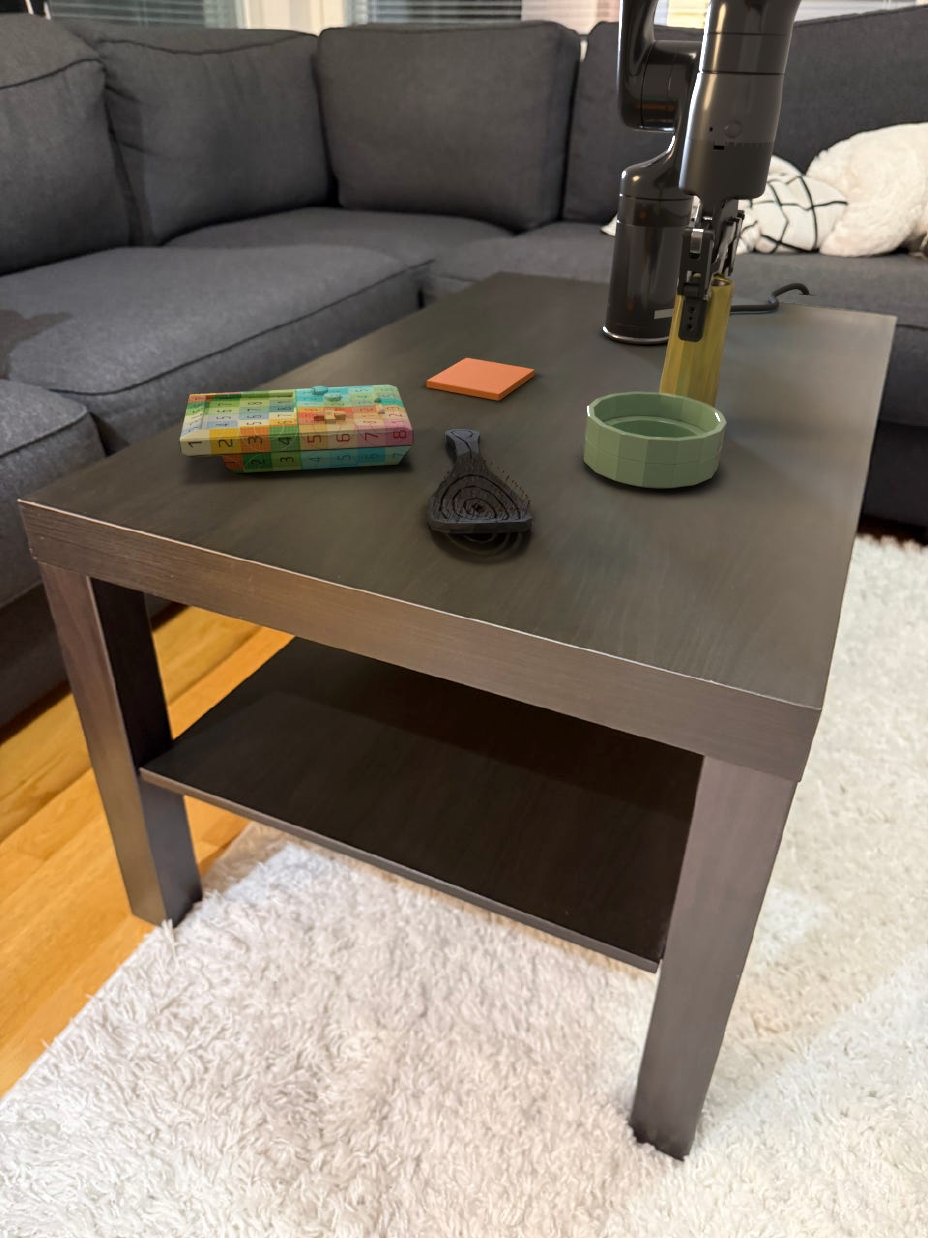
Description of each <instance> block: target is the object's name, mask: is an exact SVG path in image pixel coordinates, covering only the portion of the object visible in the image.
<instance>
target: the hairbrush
mask: <svg viewBox="0 0 928 1238" xmlns="http://www.w3.org/2000/svg"><path fill="white" fill-rule="evenodd" d="M444 438H445V439H444V440H445V443H446V444H448V445H449V447H451V448H452V449H454V451H455V456H456V457H457V458H456V460H455V462H454V465H453V466H452V467H451V468H452V469H451V470H447V471H446V475H444V477H443V480H441V481H440V483H439V485H438V487H437V488H436V490H435V491H434V492H433V494H432V495H431V497H430V500H429V503H428V508H427V511H426V514H427V515H426V519H427V523H428V525H429V527H430V529H431V530H432V531H435V532H440V533H445V534H505V533H506V534H507V533H520V532H521V533H522V532H526V531H527V530H529V529H531V528H532V527H533V524H532V521H533V516H532V514H531V512H530V511H529V509H530V507H531V500H530V499H529V496H528V493H525V490H523V489H522V486H520V487H519V491H520V492H521V495H520V496H519V493H520V492H518V493H516V492H515V490H516V489H517V488H518V486H519V485H518V484H517V482H515V481H514V479H512V481H511V484H510V486H509V485H508V484H507V482H508V479H509V478H510V474H507V476H506V478H505V480H504V481H503V479H502V476H503V475H501V476H499V475H496V473H493V472H492V471H491V470H490V469H491V466H493V462H490V466H489V467H488V465H487V463H486V461H487V460H486V459H483V457H482V456H481V454H480V451H479V450H480V449H479V446H480V444H481V432H479V431H477V430H475V429H468V428H453V429H448V430H446V431H445V436H444ZM499 468H500V467H499V466H497V467H496V469H497V471H498V470H499ZM504 473H505V470H502V474H504ZM514 482H515V483H514ZM513 483H514V486H513V488H512V487H511V486H512V485H513ZM524 493H525V494H524ZM523 494H524V495H523ZM523 496H524V497H525V498H524V499H522V497H523ZM525 500H528V501H527V505H526V502H525Z"/></svg>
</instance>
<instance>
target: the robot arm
mask: <svg viewBox="0 0 928 1238" xmlns="http://www.w3.org/2000/svg"><path fill="white" fill-rule="evenodd" d="M802 2H803V1H802V0H710V1H709V3H708V6H707V11H706V15H705V16H706V17H705V21H704V27H703V38H702V41H701V40H700V41H699V40H673V39H672V40H670V39H666V40H665V39H660V40H656V39H655V36H654V28H655V27H654V25H655V17H656V11H657V9H658V8H657V7H658V4H659V0H619V21H618V44H617V45H618V46H617V64H616V67H617V68H616V107H617V114H618V117H619V120H620V123H621V125H622V126H623V128H626V129H627V130H630V131H636V132H647V133H661V134H662V133H666V134H673V135H672V139H671V141H670V145H669V147H668V148H666V150H665V151H664V152H662V153H660V154H659V155H657V156H655V157H654V158H652V159H649V160H646V161H643V162H639V163H635V164H633V165H630V166H628V167H626V168H625V169H624V170H622V173H621V177H620V183H619V184H620V185H619V195H618V202H617V204H618V205H617V213H616V221H615V222H616V223H615V231H614V241H613V251H612V257H611V258H612V259H611V269H610V276H609V279H610V280H609V284H608V285H609V287H608V296H607V304H606V310H605V311H606V313H605V322H604V325H603V335H604V336H606V337H607V338H608V339H611V340H614V341H617V342H622V343H627V344H633V345H634V344H635V345H658V344H664V343H668V341H669V335H670V329H671V323H672V317H673V311H674V305H675V299H676V292H677V295H680V296H681V298H684V300H683V306H682V312H681V319H680V325H679V332H678V337H679V339H680V340H683V341H690V342H699V341H700V340H701V339H702V337H703V332H704V326H705V321H706V315H707V309H708V303H709V298H711V294H712V292H711V291H712V287H713V283H714V279H715V277H716V276H719V277H724V278H727V279H729V277H731V276H732V274H733V272H734V269H735V268H734V265H735V260H736V256H737V251H738V247H739V242H740V237H741V232H742V228H743V223H744V221H745V219H746V214H745V210H744V209H739V203H740V201H748V200H755V199H758V198H760V197H762V196H763V195H764V193H765V192H766V189H767V182H768V177H769V172H770V167H771V163H772V156H773V152H774V146H775V141H776V137H777V131H778V126H779V121H780V115H781V111H782V102H783V101H782V100H783V88H784V79H785V73H786V68H787V63H788V57H789V51H790V46H791V42H792V36H793V30H794V24H795V20H796V16H797V13H798V10H799V8H800V5H801V4H802ZM695 197H697V198H698V199H699V201H698V202H699V204H698V205H697V209H696V213H695V217H692V215H693V208H694V204H695V203H694V202H695ZM694 275H701V279H700V283H694V282H692V280H693V276H694ZM677 283H678V286H677ZM794 290H798V291H800V293H802V295H805V296H807V295H810V290H809V288H808V287H807V286H806V285H805V284H804V283H802V282H792V283H788V284H786V285H783V286H780V287H779V288H776V289H775V290H773V291H771V292H770V293H769V294H768V296H767V299H768V301H769V303H765V304H733V305H732V304H731V308H730V313H741V312H742V313H750V312H751V313H754V312H755V313H756V312H757V313H759V312H761V313H762V312H771V311H774V310H776V309H778V307H780V300H779V299H778V298H777V297H779V296H781V295H783V294H785V293H788V292H789V291H790V292H791V291H794Z"/></svg>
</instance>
